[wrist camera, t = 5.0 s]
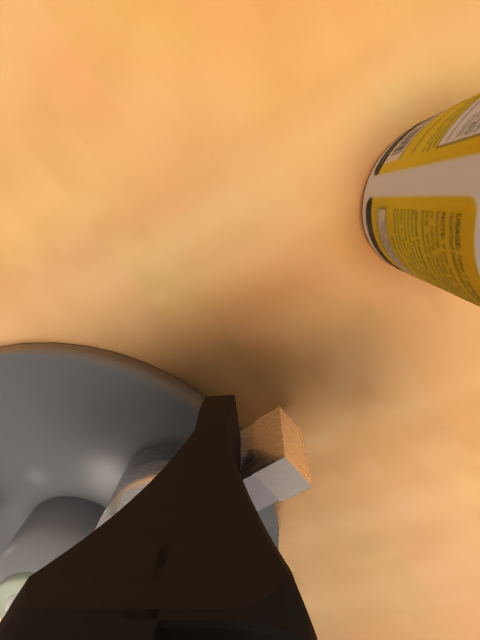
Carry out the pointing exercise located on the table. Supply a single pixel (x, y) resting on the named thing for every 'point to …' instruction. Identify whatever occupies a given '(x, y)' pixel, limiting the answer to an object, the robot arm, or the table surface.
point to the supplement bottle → (431, 201)
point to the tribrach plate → (76, 445)
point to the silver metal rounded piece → (256, 464)
